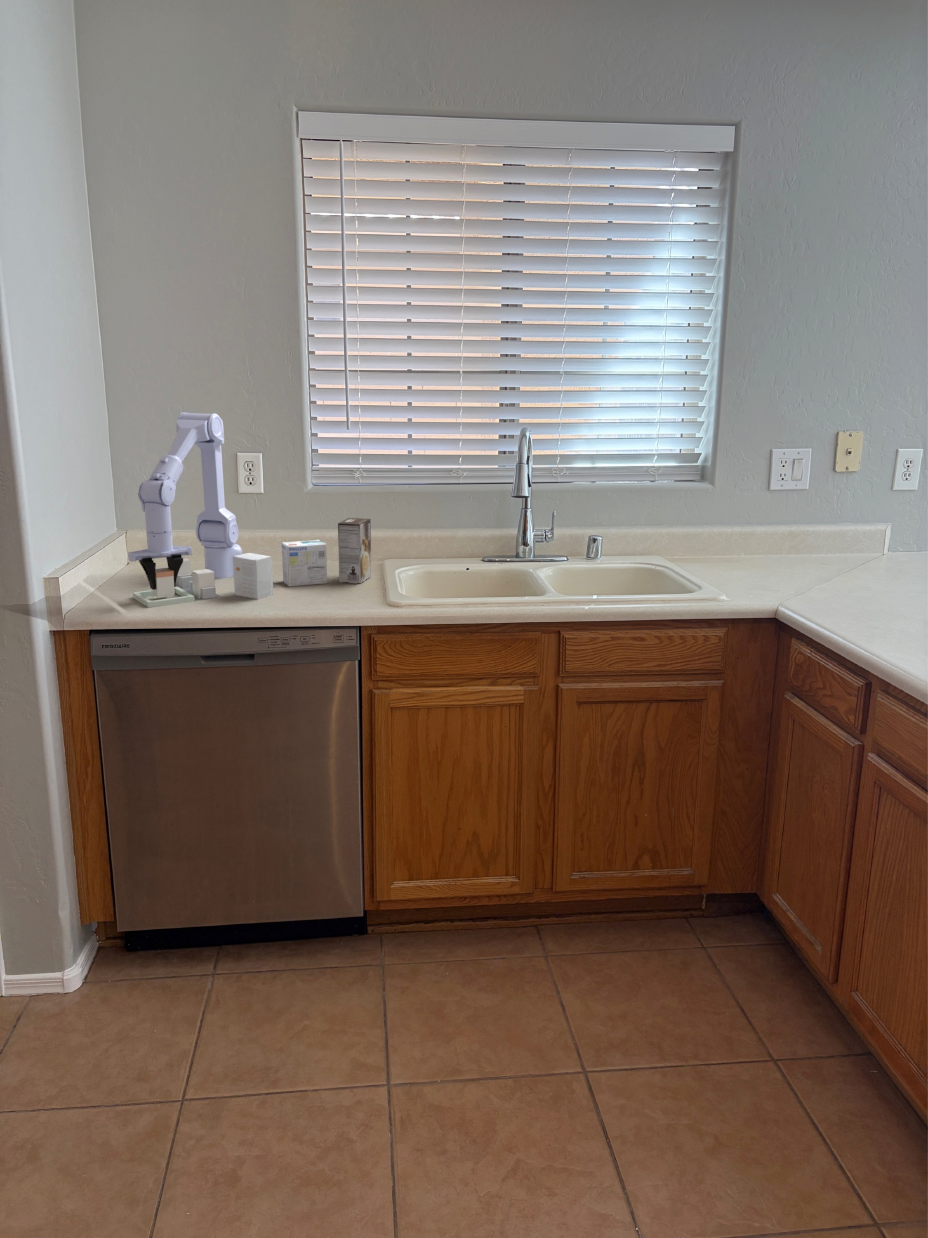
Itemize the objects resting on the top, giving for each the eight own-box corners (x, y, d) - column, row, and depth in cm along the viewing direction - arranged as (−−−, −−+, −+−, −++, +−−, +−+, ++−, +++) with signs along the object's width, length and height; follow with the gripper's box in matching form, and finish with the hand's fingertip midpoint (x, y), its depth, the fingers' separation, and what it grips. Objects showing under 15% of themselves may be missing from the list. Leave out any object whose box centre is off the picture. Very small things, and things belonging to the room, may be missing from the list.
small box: (274, 598, 227) (272, 556, 225) (257, 602, 223) (256, 560, 220) (250, 593, 232) (249, 552, 229) (234, 597, 227) (232, 555, 224)
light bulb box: (320, 578, 249) (319, 538, 246) (328, 583, 243) (327, 543, 240) (281, 581, 245) (280, 541, 242) (288, 587, 239) (287, 546, 236)
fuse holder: (187, 581, 242) (186, 569, 241) (221, 599, 225) (220, 586, 224) (165, 584, 238) (164, 571, 238) (197, 603, 221) (197, 589, 220)
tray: (178, 594, 228) (177, 586, 228) (194, 604, 220) (194, 596, 219) (133, 600, 222) (132, 592, 222) (148, 610, 214) (148, 602, 213)
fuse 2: (209, 592, 228) (207, 568, 226) (215, 595, 225) (214, 571, 223) (193, 594, 226) (192, 570, 224) (199, 598, 222) (198, 573, 221)
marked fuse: (169, 591, 223) (167, 567, 222) (175, 595, 220) (173, 570, 218) (152, 594, 221) (150, 569, 219) (157, 597, 218) (156, 572, 216)
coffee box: (349, 575, 253) (348, 517, 249) (371, 576, 252) (371, 518, 248) (338, 582, 245) (337, 522, 240) (361, 584, 243) (360, 523, 239)
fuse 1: (185, 579, 240) (184, 557, 239) (191, 582, 237) (189, 560, 235) (170, 581, 238) (168, 558, 236) (175, 584, 235) (174, 561, 233)
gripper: (133, 536, 209) (137, 594, 213) (195, 531, 218) (198, 587, 221) (123, 531, 215) (128, 588, 218) (184, 526, 223) (187, 581, 227)
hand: (162, 587), depth 220 cm, fingers closed on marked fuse, 4 cm apart
